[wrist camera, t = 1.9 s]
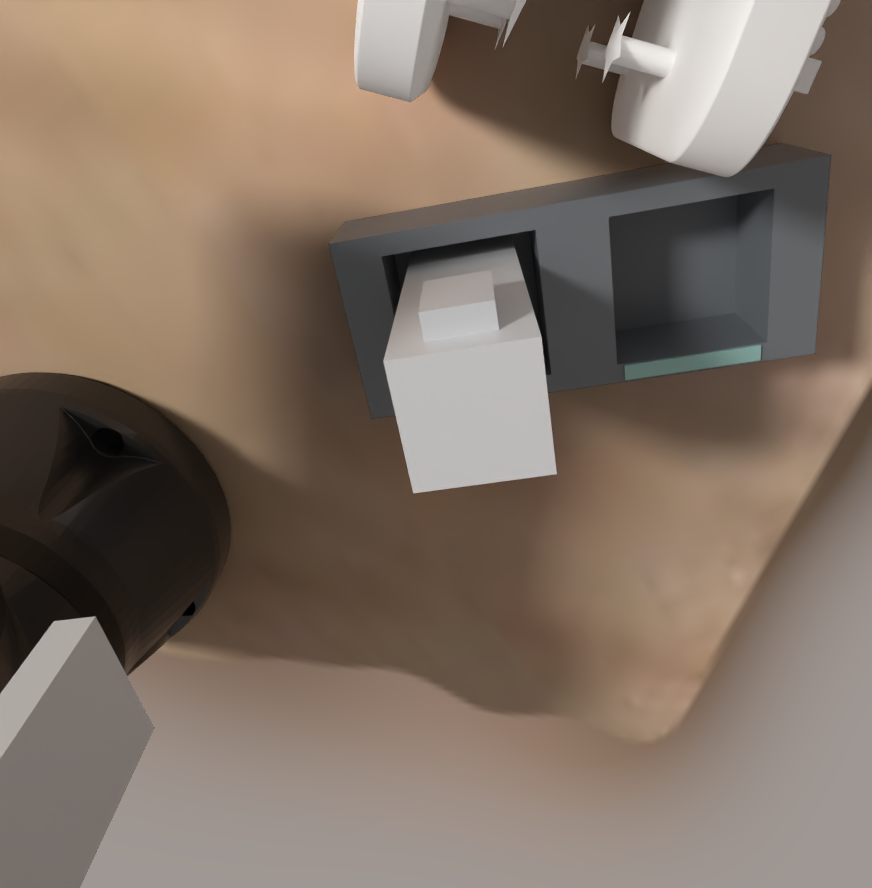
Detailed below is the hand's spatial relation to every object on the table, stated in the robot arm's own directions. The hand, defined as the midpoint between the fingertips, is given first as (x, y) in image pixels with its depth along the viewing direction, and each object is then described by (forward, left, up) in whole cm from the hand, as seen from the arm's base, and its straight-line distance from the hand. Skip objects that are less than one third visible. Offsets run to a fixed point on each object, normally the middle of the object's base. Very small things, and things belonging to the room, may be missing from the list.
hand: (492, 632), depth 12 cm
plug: (0, 0, -20) cm, 20 cm away
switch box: (+4, 0, -20) cm, 21 cm away
